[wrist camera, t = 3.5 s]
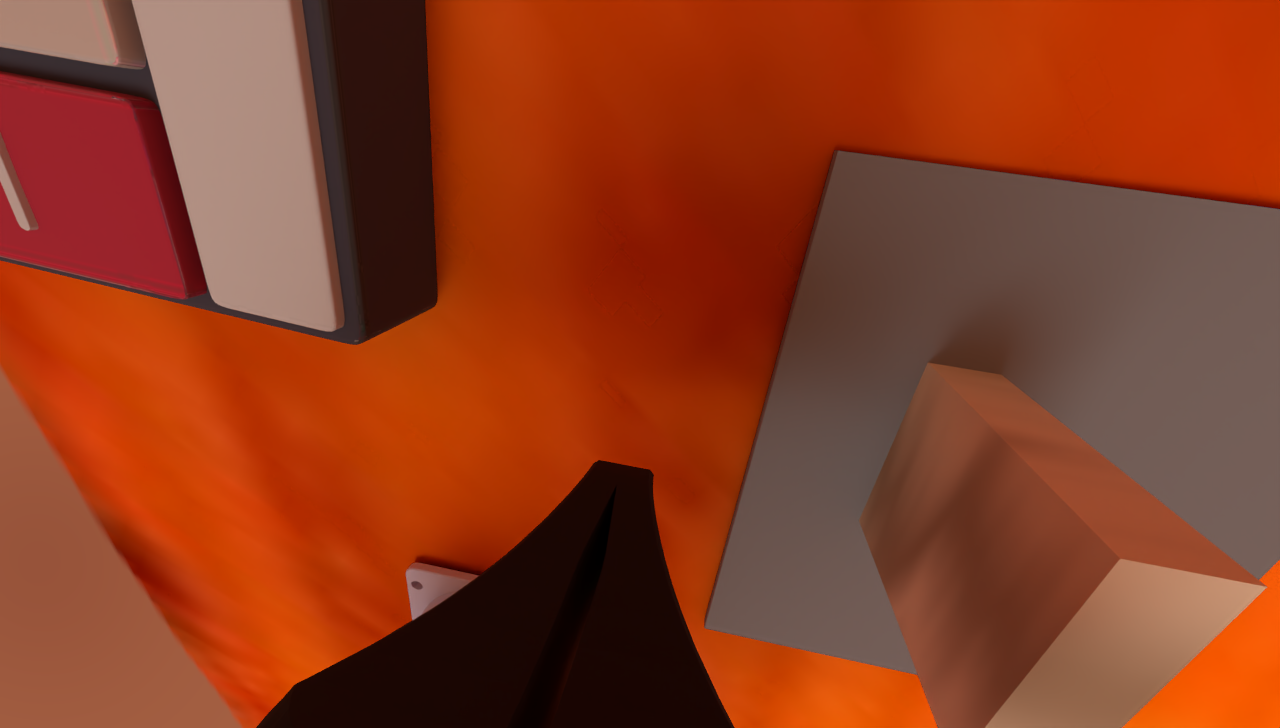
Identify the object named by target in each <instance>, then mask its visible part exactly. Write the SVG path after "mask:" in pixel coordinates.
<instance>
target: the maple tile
mask: <svg viewBox="0 0 1280 728" xmlns="http://www.w3.org/2000/svg"><path fill="white" fill-rule="evenodd" d="M859 522H860V525H861V528H862V530H863V533H864V535H865V538H866V541H867V543H868V546H869V548H870V551H871V554H872V556H873V559H874V562H875V564H876V567H877V569H878V572H879V575H880V577H881V580H882V583H883V585H884V588H885V590H886V593H887V596H888V598H889V601H890V603H891V606H892V609H893V611H894V614H895V617H896V619H897V622H898V624H899V627H900V630H901V632H902V635H903V637H904V640H905V643H906V645H907V648H908V651H909V653H910V656H911V658H912V661H913V664H914V666H915V669H916V671H917V674H918V677H919V679H920V682H921V685H922V687H923V690H924V692H925V695H926V698H927V700H928V703H929V705H930V708H931V711H932V713H933V716H934V719H935V721H936V724H937V726H938V728H1122V727H1123V726H1124V725H1125V724H1126V723H1127V722H1128V721H1129V720H1130V719H1131V718H1132V717H1133V716H1134V715H1135V714H1136V713H1138V712H1139V711H1140V710H1141V709H1142V708H1143V707H1144V706H1145V705H1146V704H1147V703H1148V702H1149V701H1150V700H1151V699H1152V698H1153V697H1154V696H1155V695H1156V694H1157V693H1158V692H1159V691H1160V690H1161V689H1162V688H1163V687H1164V686H1165V685H1166V684H1167V683H1169V682H1170V681H1171V680H1172V679H1173V678H1174V677H1175V676H1176V675H1177V674H1178V673H1179V672H1180V671H1181V670H1182V669H1183V668H1184V667H1185V666H1186V665H1187V664H1188V663H1189V662H1190V661H1191V660H1192V659H1193V658H1194V657H1195V656H1196V655H1197V654H1199V653H1200V652H1201V651H1202V650H1203V649H1204V648H1205V647H1206V646H1207V645H1208V644H1209V643H1210V642H1211V641H1212V640H1213V639H1214V638H1215V637H1216V636H1217V635H1218V634H1219V633H1220V632H1221V631H1222V630H1223V629H1224V628H1225V627H1226V626H1227V625H1229V624H1230V623H1231V622H1232V621H1233V620H1234V619H1235V618H1236V617H1237V616H1238V615H1239V614H1240V613H1241V612H1242V611H1243V610H1244V609H1245V608H1246V607H1247V606H1248V605H1249V604H1250V603H1251V602H1252V601H1253V600H1254V599H1255V598H1256V597H1257V596H1258V595H1260V594H1261V593H1262V592H1263V591H1264V590H1265V589H1266V588H1267V586H1265V585H1264V584H1263V583H1262V582H1260V581H1259V580H1258V579H1257V578H1255V577H1254V576H1253V575H1252V574H1250V573H1249V572H1248V571H1247V570H1245V569H1244V568H1243V567H1242V566H1240V565H1239V564H1238V563H1237V562H1235V561H1234V560H1233V559H1232V558H1230V557H1229V556H1228V555H1227V554H1225V553H1224V552H1223V551H1222V550H1220V549H1219V548H1218V547H1217V546H1215V545H1214V544H1213V543H1212V542H1210V541H1209V540H1208V539H1207V538H1205V537H1204V536H1203V535H1202V534H1200V533H1199V532H1198V531H1197V530H1195V529H1194V528H1193V527H1192V526H1190V525H1189V524H1188V523H1187V522H1185V521H1184V520H1183V519H1182V518H1180V517H1179V516H1178V515H1177V514H1175V513H1174V512H1173V511H1172V510H1170V509H1169V508H1168V507H1167V506H1165V505H1164V504H1163V503H1162V502H1160V501H1159V500H1158V499H1156V498H1155V497H1154V496H1153V495H1151V494H1150V493H1149V492H1148V491H1146V490H1145V489H1144V488H1143V487H1141V486H1140V485H1139V484H1138V483H1136V482H1135V481H1134V480H1133V479H1131V478H1130V477H1129V476H1128V475H1126V474H1125V473H1124V472H1123V471H1121V470H1120V469H1119V468H1118V467H1116V466H1115V465H1114V464H1113V463H1111V462H1110V461H1109V460H1108V459H1106V458H1105V457H1104V456H1103V455H1101V454H1100V453H1099V452H1098V451H1096V450H1095V449H1094V448H1093V447H1091V446H1090V445H1089V444H1088V443H1086V442H1085V441H1084V440H1083V439H1081V438H1080V437H1079V436H1078V435H1076V434H1075V433H1074V432H1073V431H1071V430H1070V429H1069V428H1068V427H1066V426H1065V425H1064V424H1063V423H1061V422H1060V421H1059V420H1058V419H1056V418H1055V417H1054V416H1053V415H1051V414H1050V413H1049V412H1048V411H1046V410H1045V409H1044V408H1043V407H1041V406H1040V405H1039V404H1038V403H1036V402H1035V401H1034V400H1033V399H1031V398H1030V397H1029V396H1028V395H1026V394H1025V393H1024V392H1023V391H1021V390H1020V389H1019V388H1018V387H1016V386H1015V385H1014V384H1013V383H1011V382H1010V381H1009V380H1007V379H1006V378H1005V377H1004V376H1002V375H1000V374H994V373H988V372H982V371H976V370H970V369H964V368H958V367H952V366H946V365H940V364H934V363H927V365H926V368H925V370H924V372H923V375H922V377H921V379H920V382H919V384H918V386H917V388H916V391H915V393H914V395H913V398H912V400H911V402H910V404H909V407H908V409H907V411H906V414H905V416H904V418H903V421H902V423H901V425H900V427H899V430H898V432H897V434H896V437H895V439H894V441H893V444H892V446H891V448H890V450H889V453H888V455H887V457H886V460H885V462H884V464H883V466H882V469H881V471H880V473H879V476H878V478H877V480H876V483H875V485H874V487H873V489H872V492H871V494H870V496H869V499H868V501H867V503H866V505H865V508H864V510H863V512H862V515H861V517H860V519H859Z"/></svg>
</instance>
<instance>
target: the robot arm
mask: <svg viewBox="0 0 1280 728" xmlns="http://www.w3.org/2000/svg"><path fill="white" fill-rule="evenodd" d="M653 476H654V475H653V473H652V472H651V471H650V470H648V469H643V468H637V467H632V466H627V465H622V464H617V463H611V462H606V461H601V460H598V461H597V462H595V463H594V464H593V465H592V466H591V468H590V469H589V471H588V472H587V473H586V474H585V476H584V477H583V478H582V479H581V481H580V482H579V483H578V484H577V485H576V486H575V488H574V489H573V490H572V491H571V492H570V493H569V494H568V496H567V497H566V498H565V499H564V500H563V501H562V502H561V503H560V504H559V505H558V506H557V507H556V508H555V509H554V510H553V511H552V512H551V513H550V514H549V516H548V517H547V518H545V519H544V520H543V521H542V522H541V523H540V524H539V525H538V526H537V527H536V528H535V529H534V530H533V531H532V532H531V533H530V534H528V535H527V536H526V537H525V538H524V539H523V540H522V541H521V542H520V543H519V544H518V545H516V546H515V547H514V548H513V549H512V550H511V551H509V552H508V553H507V554H506V555H505V556H503V557H502V558H501V559H500V560H499V561H497V562H496V563H495V564H493V565H492V566H491V567H490V568H488V569H487V570H486V571H484V572H483V573H482V574H481V575H474V574H470V573H465V572H461V571H456V570H451V569H447V568H442V567H438V566H433V565H428V564H424V563H417V562H416V563H412V564H411V565H410V567H409V568H408V569H407V571H406V579H407V586H408V593H409V600H410V607H411V614H412V621H411V622H409V623H407V624H406V625H404V626H402V627H401V628H399V629H397V630H396V631H394V632H392V633H391V634H389V635H387V636H386V637H384V638H382V639H381V640H379V641H377V642H375V643H374V644H372V645H370V646H368V647H366V648H365V649H363V650H361V651H359V652H357V653H355V654H353V655H351V656H349V657H347V658H345V659H343V660H342V661H340V662H338V663H336V664H334V665H332V666H330V667H328V668H326V669H324V670H322V671H321V672H319V673H317V674H315V675H313V676H311V677H309V678H307V679H305V680H303V681H301V682H299V683H297V684H295V685H294V686H293V687H292V688H291V690H290V691H289V692H288V693H287V694H286V695H285V696H284V698H283V699H282V700H281V701H280V702H279V703H278V704H277V705H276V706H275V707H274V708H273V709H272V710H271V711H270V712H269V713H268V714H267V716H266V717H265V718H264V719H263V720H262V721H261V723H260V724H259V725H258V726H257V727H256V728H734V726H733V724H732V722H731V720H730V718H729V716H728V714H727V712H726V710H725V709H724V707H723V705H722V703H721V701H720V699H719V697H718V695H717V692H716V690H715V688H714V686H713V684H712V682H711V680H710V677H709V675H708V673H707V671H706V669H705V667H704V664H703V662H702V660H701V658H700V656H699V654H698V652H697V649H696V647H695V645H694V642H693V640H692V637H691V635H690V632H689V630H688V627H687V625H686V622H685V619H684V617H683V614H682V611H681V609H680V606H679V603H678V600H677V597H676V594H675V591H674V588H673V585H672V582H671V579H670V575H669V572H668V568H667V565H666V561H665V557H664V553H663V549H662V545H661V540H660V536H659V531H658V526H657V521H656V515H655V508H654V499H653Z"/></svg>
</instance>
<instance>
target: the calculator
mask: <svg viewBox="0 0 1280 728" xmlns="http://www.w3.org/2000/svg"><path fill="white" fill-rule="evenodd" d="M0 260H1V261H5V262H9V263H14V264H18V265H22V266H26V267H30V268H34V269H39V270H43V271H47V272H51V273H55V274H59V275H64V276H68V277H72V278H76V279H80V280H84V281H88V282H93V283H97V284H101V285H105V286H109V287H113V288H118V289H122V290H126V291H130V292H134V293H138V294H143V295H147V296H151V297H155V298H159V299H163V300H168V301H172V302H176V303H180V304H184V305H188V306H193V307H197V308H201V309H205V310H209V311H213V312H217V313H222V314H226V315H230V316H234V317H238V318H242V319H247V320H251V321H255V322H259V323H263V324H267V325H272V326H276V327H280V328H284V329H288V330H292V331H297V332H301V333H305V334H309V335H313V336H317V337H322V338H326V339H330V340H334V341H338V342H342V343H347V344H353V345H357V344H361V343H363V342H365V341H367V340H369V339H371V338H373V337H375V336H377V335H379V334H381V333H383V332H385V331H388V330H390V329H392V328H394V327H396V326H398V325H400V324H401V323H403V322H405V321H407V320H409V319H411V318H413V317H415V316H417V315H419V314H421V313H423V312H425V311H427V310H429V309H431V308H433V307H434V306H435V305H436V303H437V273H436V249H435V225H434V202H433V178H432V155H431V131H430V107H429V84H428V60H427V37H426V13H425V0H0Z"/></svg>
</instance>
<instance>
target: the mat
mask: <svg viewBox="0 0 1280 728" xmlns="http://www.w3.org/2000/svg"><path fill="white" fill-rule="evenodd" d="M927 363H934V364H940V365H946V366H952V367H958V368H964V369H970V370H976V371H982V372H988V373H994V374H1000V375H1002V376H1004V377H1005V378H1006V379H1007V380H1009V381H1010V382H1011V383H1013V384H1014V385H1015V386H1016V387H1018V388H1019V389H1020V390H1021V391H1023V392H1024V393H1025V394H1026V395H1028V396H1029V397H1030V398H1031V399H1033V400H1034V401H1035V402H1036V403H1038V404H1039V405H1040V406H1041V407H1043V408H1044V409H1045V410H1046V411H1048V412H1049V413H1050V414H1051V415H1053V416H1054V417H1055V418H1056V419H1058V420H1059V421H1060V422H1061V423H1063V424H1064V425H1065V426H1066V427H1068V428H1069V429H1070V430H1071V431H1073V432H1074V433H1075V434H1076V435H1078V436H1079V437H1080V438H1081V439H1083V440H1084V441H1085V442H1086V443H1088V444H1089V445H1090V446H1091V447H1093V448H1094V449H1095V450H1096V451H1098V452H1099V453H1100V454H1101V455H1103V456H1104V457H1105V458H1106V459H1108V460H1109V461H1110V462H1111V463H1113V464H1114V465H1115V466H1116V467H1118V468H1119V469H1120V470H1121V471H1123V472H1124V473H1125V474H1126V475H1128V476H1129V477H1130V478H1131V479H1133V480H1134V481H1135V482H1136V483H1138V484H1139V485H1140V486H1141V487H1143V488H1144V489H1145V490H1146V491H1148V492H1149V493H1150V494H1151V495H1153V496H1154V497H1155V498H1156V499H1158V500H1159V501H1160V502H1162V503H1163V504H1164V505H1165V506H1167V507H1168V508H1169V509H1170V510H1172V511H1173V512H1174V513H1175V514H1177V515H1178V516H1179V517H1180V518H1182V519H1183V520H1184V521H1185V522H1187V523H1188V524H1189V525H1190V526H1192V527H1193V528H1194V529H1195V530H1197V531H1198V532H1199V533H1200V534H1202V535H1203V536H1204V537H1205V538H1207V539H1208V540H1209V541H1210V542H1212V543H1213V544H1214V545H1215V546H1217V547H1218V548H1219V549H1220V550H1222V551H1223V552H1224V553H1225V554H1227V555H1228V556H1229V557H1230V558H1232V559H1233V560H1234V561H1235V562H1237V563H1238V564H1239V565H1240V566H1242V567H1243V568H1244V569H1245V570H1247V571H1248V572H1249V573H1250V574H1252V575H1253V576H1254V577H1255V578H1257V579H1258V580H1259V579H1260V578H1261V577H1262V576H1263V575H1264V574H1265V573H1266V572H1267V571H1268V570H1269V569H1270V568H1271V567H1272V566H1273V565H1274V564H1275V563H1276V562H1278V561H1279V560H1280V209H1275V208H1267V207H1260V206H1252V205H1245V204H1237V203H1230V202H1222V201H1215V200H1207V199H1199V198H1192V197H1184V196H1177V195H1169V194H1162V193H1154V192H1147V191H1139V190H1132V189H1124V188H1117V187H1109V186H1102V185H1094V184H1087V183H1079V182H1071V181H1064V180H1056V179H1049V178H1041V177H1034V176H1026V175H1019V174H1011V173H1004V172H996V171H989V170H981V169H974V168H966V167H958V166H951V165H943V164H936V163H928V162H921V161H913V160H906V159H898V158H891V157H883V156H876V155H868V154H861V153H853V152H846V151H837V150H834V154H833V157H832V161H831V164H830V168H829V172H828V175H827V179H826V183H825V186H824V190H823V193H822V197H821V201H820V204H819V208H818V211H817V215H816V219H815V222H814V226H813V230H812V233H811V237H810V240H809V244H808V248H807V251H806V255H805V258H804V262H803V266H802V269H801V273H800V277H799V280H798V284H797V287H796V291H795V295H794V298H793V302H792V305H791V309H790V313H789V316H788V320H787V324H786V327H785V331H784V334H783V338H782V342H781V345H780V349H779V352H778V356H777V360H776V363H775V367H774V370H773V374H772V378H771V381H770V385H769V389H768V392H767V396H766V399H765V403H764V407H763V410H762V414H761V417H760V421H759V425H758V428H757V432H756V436H755V439H754V443H753V446H752V450H751V454H750V457H749V461H748V464H747V468H746V472H745V475H744V479H743V483H742V486H741V490H740V493H739V497H738V501H737V504H736V508H735V511H734V515H733V519H732V522H731V526H730V530H729V533H728V537H727V540H726V544H725V548H724V551H723V555H722V558H721V562H720V566H719V569H718V573H717V576H716V580H715V584H714V587H713V591H712V595H711V598H710V602H709V605H708V609H707V613H706V616H705V624H704V628H706V629H710V630H715V631H719V632H724V633H728V634H733V635H738V636H742V637H747V638H751V639H756V640H760V641H765V642H770V643H774V644H779V645H783V646H788V647H793V648H797V649H802V650H806V651H811V652H815V653H820V654H825V655H829V656H834V657H838V658H843V659H847V660H852V661H857V662H861V663H866V664H870V665H875V666H879V667H884V668H889V669H893V670H898V671H902V672H907V673H912V674H916V675H918V674H917V671H916V669H915V666H914V664H913V661H912V658H911V656H910V653H909V651H908V648H907V645H906V643H905V640H904V637H903V635H902V632H901V630H900V627H899V624H898V622H897V619H896V617H895V614H894V611H893V609H892V606H891V603H890V601H889V598H888V596H887V593H886V590H885V588H884V585H883V583H882V580H881V577H880V575H879V572H878V569H877V567H876V564H875V562H874V559H873V556H872V554H871V551H870V548H869V546H868V543H867V541H866V538H865V535H864V533H863V530H862V528H861V525H860V522H859V519H860V517H861V515H862V512H863V510H864V508H865V505H866V503H867V501H868V499H869V496H870V494H871V492H872V489H873V487H874V485H875V483H876V480H877V478H878V476H879V473H880V471H881V469H882V466H883V464H884V462H885V460H886V457H887V455H888V453H889V450H890V448H891V446H892V444H893V441H894V439H895V437H896V434H897V432H898V430H899V427H900V425H901V423H902V421H903V418H904V416H905V414H906V411H907V409H908V407H909V404H910V402H911V400H912V398H913V395H914V393H915V391H916V388H917V386H918V384H919V382H920V379H921V377H922V375H923V372H924V370H925V368H926V365H927Z"/></svg>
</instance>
